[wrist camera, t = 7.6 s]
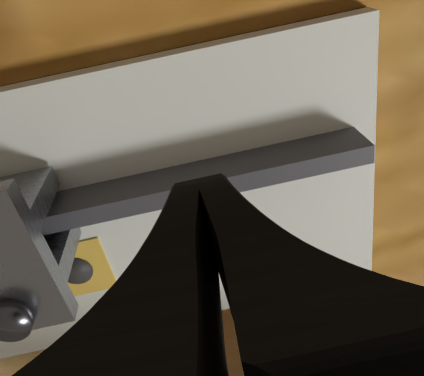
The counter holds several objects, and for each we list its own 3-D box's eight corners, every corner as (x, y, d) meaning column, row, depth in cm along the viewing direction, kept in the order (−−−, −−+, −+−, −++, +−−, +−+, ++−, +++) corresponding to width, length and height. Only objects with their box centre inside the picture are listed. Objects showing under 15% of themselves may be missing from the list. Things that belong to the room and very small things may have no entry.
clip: (90, 253, 19) (72, 333, 15) (7, 271, 19) (-33, 356, 15) (39, 138, 16) (-1, 201, 12) (-59, 160, 16) (-133, 230, 12)
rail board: (363, 265, 23) (388, 304, 21) (-9, 347, 23) (-30, 396, 21) (367, 6, 16) (407, 17, 14) (-171, 123, 16) (-234, 156, 13)
